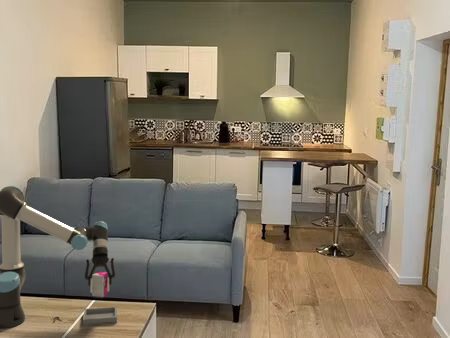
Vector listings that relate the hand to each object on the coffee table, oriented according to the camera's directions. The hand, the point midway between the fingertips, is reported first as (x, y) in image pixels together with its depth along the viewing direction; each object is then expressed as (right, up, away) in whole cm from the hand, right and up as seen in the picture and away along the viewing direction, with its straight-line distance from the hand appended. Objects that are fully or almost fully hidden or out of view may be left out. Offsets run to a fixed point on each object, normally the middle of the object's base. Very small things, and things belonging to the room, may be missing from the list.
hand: (99, 291), depth 236 cm
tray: (-1, -15, +5) cm, 16 cm away
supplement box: (-1, -3, +4) cm, 5 cm away
